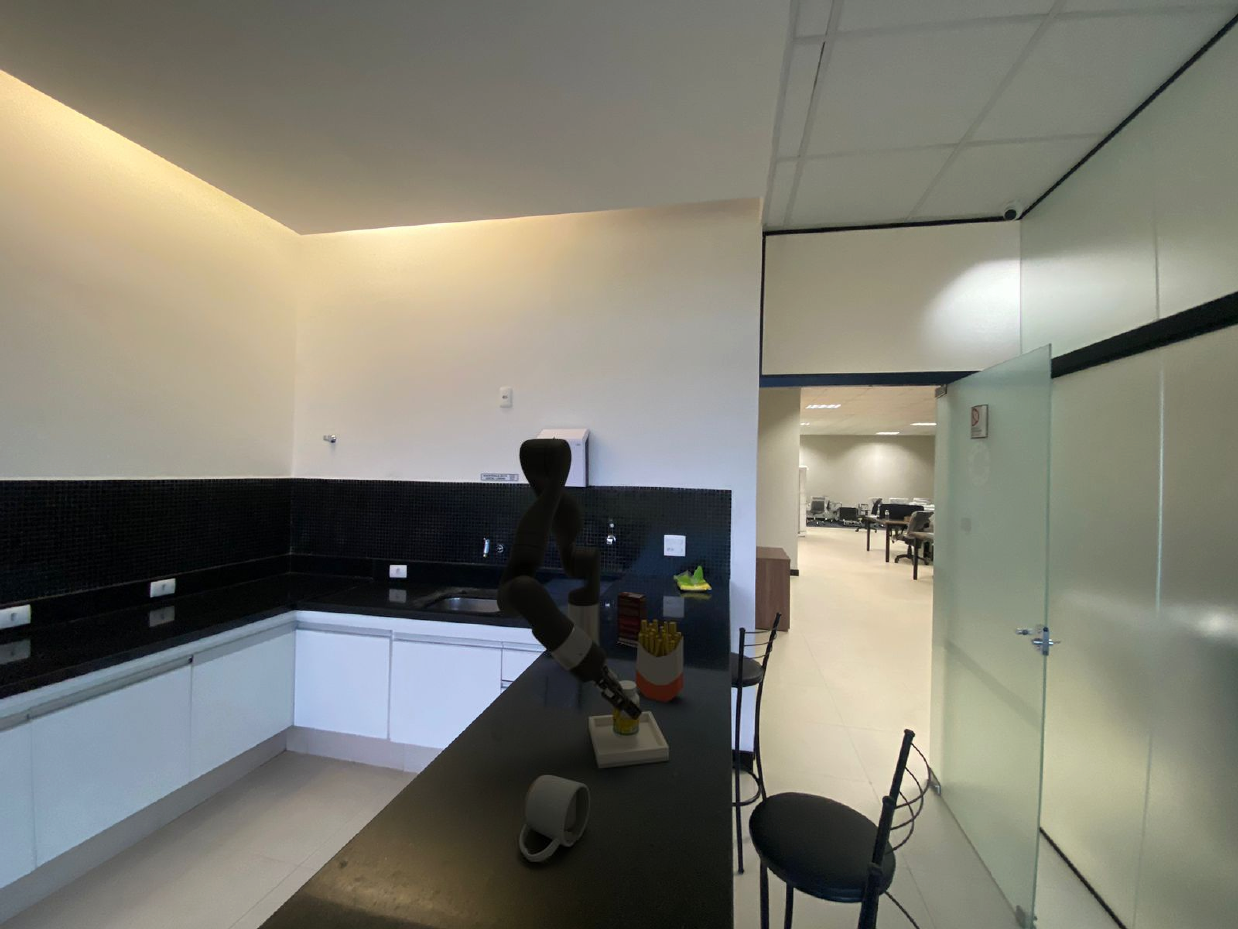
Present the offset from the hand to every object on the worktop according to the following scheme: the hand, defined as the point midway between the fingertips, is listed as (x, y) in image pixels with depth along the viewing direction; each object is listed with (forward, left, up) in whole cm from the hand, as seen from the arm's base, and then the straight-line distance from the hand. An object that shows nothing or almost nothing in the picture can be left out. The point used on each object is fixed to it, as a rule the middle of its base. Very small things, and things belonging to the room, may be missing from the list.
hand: (634, 708), depth 94 cm
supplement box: (-53, +11, -7) cm, 55 cm away
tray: (0, -2, -7) cm, 7 cm away
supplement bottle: (0, -2, -5) cm, 5 cm away
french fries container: (-18, +10, -7) cm, 22 cm away
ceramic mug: (+22, -18, -7) cm, 29 cm away
